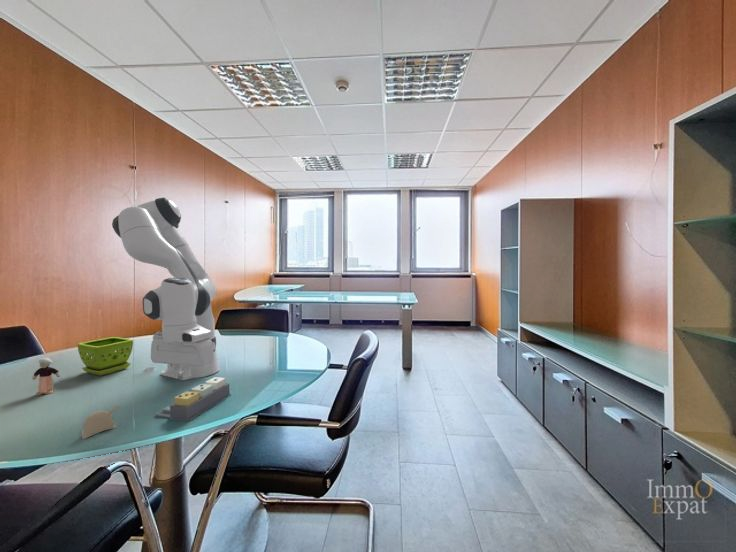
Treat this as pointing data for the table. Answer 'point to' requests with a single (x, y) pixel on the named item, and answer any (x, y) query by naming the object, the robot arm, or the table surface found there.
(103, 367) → the flower pot
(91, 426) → the decorative ornament
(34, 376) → the grandmother figurine
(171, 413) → the console
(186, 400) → the tile three
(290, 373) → the table surface
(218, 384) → the tile one
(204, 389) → the tile two
